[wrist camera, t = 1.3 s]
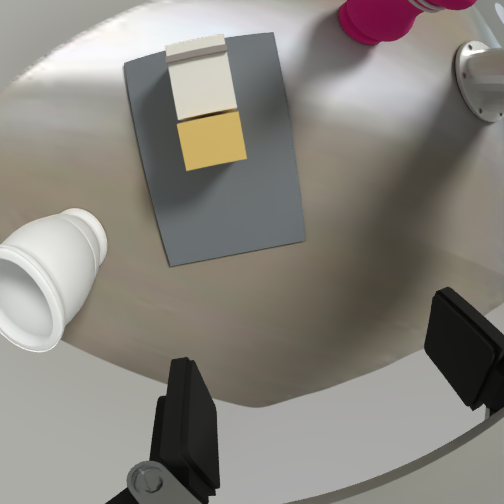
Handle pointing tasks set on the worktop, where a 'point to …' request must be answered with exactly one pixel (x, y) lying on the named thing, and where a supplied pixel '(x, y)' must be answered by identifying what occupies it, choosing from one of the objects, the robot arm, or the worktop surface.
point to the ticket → (201, 78)
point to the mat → (226, 174)
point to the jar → (48, 276)
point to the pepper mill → (388, 17)
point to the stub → (212, 140)
